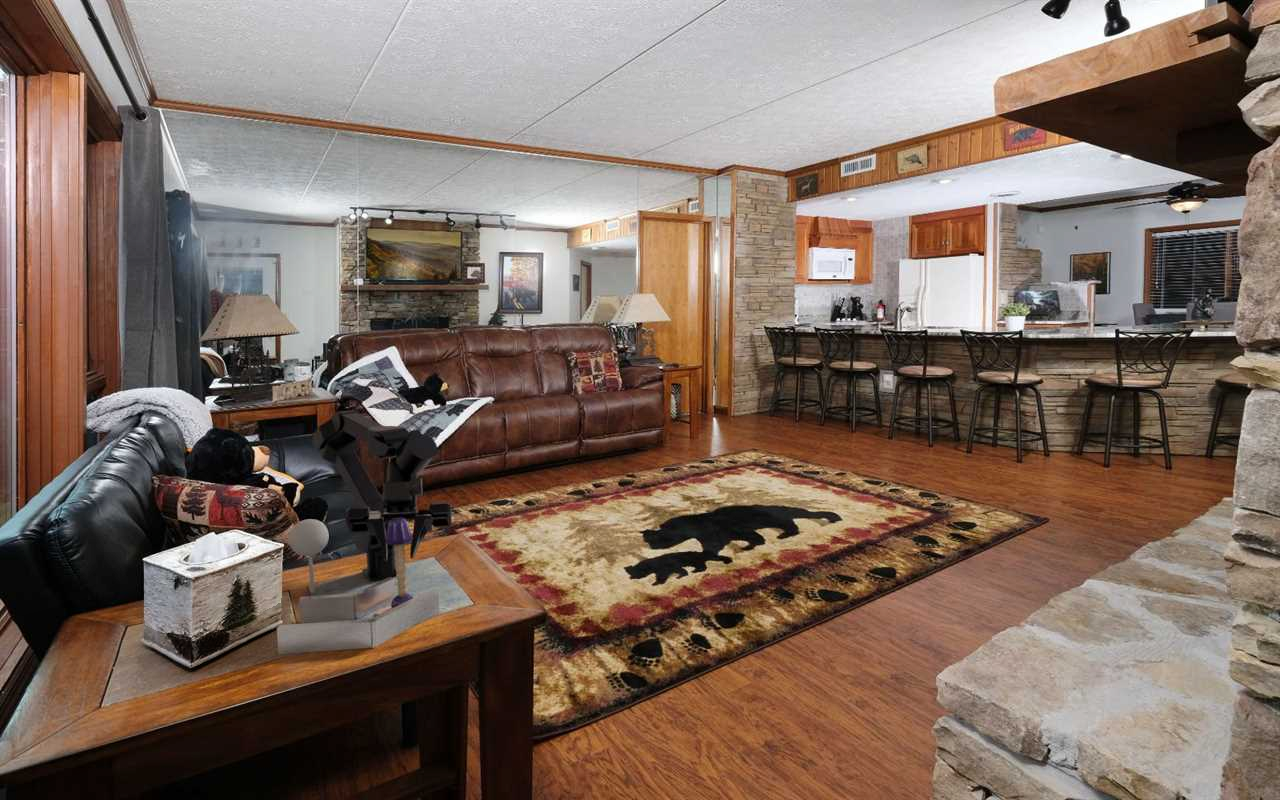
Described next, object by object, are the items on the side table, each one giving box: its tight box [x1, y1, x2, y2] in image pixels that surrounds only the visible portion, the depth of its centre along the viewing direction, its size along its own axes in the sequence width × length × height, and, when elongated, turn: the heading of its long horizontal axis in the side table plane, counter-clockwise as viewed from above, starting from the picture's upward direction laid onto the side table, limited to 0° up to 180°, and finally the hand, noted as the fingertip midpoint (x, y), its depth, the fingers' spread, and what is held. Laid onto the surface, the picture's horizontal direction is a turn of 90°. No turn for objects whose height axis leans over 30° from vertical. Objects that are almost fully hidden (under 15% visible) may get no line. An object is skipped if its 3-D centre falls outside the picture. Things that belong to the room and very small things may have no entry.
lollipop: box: [288, 518, 330, 594], centre depth 135 cm, size 7×7×15 cm
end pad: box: [373, 604, 392, 617], centre depth 128 cm, size 7×7×1 cm
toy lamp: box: [385, 518, 414, 608], centre depth 127 cm, size 5×5×17 cm
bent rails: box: [276, 576, 440, 655], centre depth 121 cm, size 18×27×4 cm, turn 126°
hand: (398, 558), depth 125 cm, fingers closed on toy lamp, 4 cm apart
